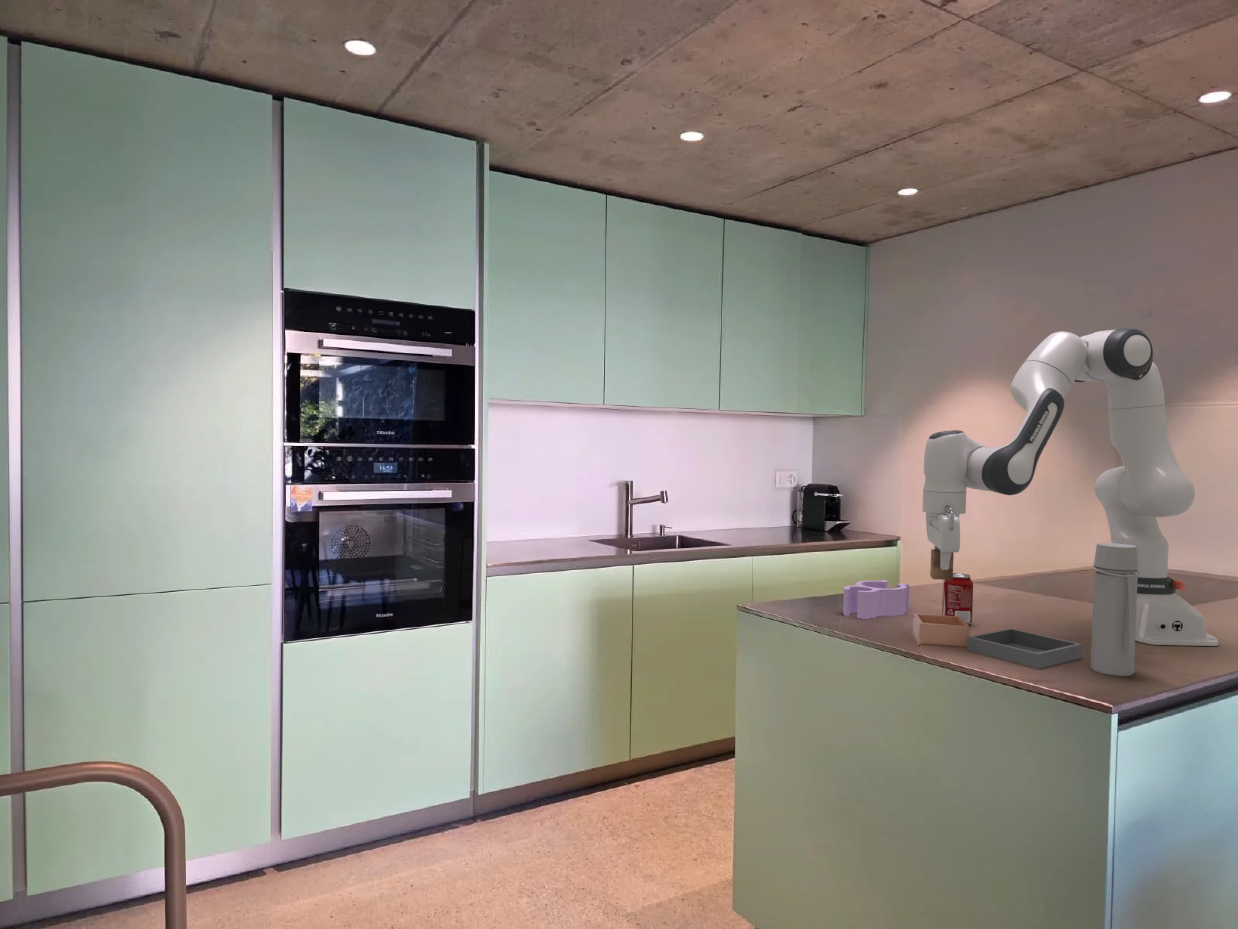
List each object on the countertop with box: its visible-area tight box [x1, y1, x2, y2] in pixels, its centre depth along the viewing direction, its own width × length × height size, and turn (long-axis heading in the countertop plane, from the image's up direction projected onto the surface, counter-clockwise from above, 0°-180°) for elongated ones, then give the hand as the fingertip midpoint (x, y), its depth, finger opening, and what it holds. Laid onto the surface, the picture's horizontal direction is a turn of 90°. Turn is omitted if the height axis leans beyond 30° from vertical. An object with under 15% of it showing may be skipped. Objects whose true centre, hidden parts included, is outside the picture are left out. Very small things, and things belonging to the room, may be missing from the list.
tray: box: [966, 627, 1083, 670], centre depth 167 cm, size 15×15×4 cm
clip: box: [842, 579, 910, 620], centre depth 208 cm, size 20×12×7 cm, turn 129°
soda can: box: [941, 572, 974, 626], centre depth 196 cm, size 7×7×12 cm
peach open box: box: [912, 613, 970, 648], centre depth 178 cm, size 10×10×5 cm
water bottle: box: [1090, 542, 1142, 677], centre depth 155 cm, size 9×8×25 cm
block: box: [929, 548, 955, 581], centre depth 178 cm, size 4×4×6 cm
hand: (942, 567), depth 178 cm, fingers closed on block, 4 cm apart
